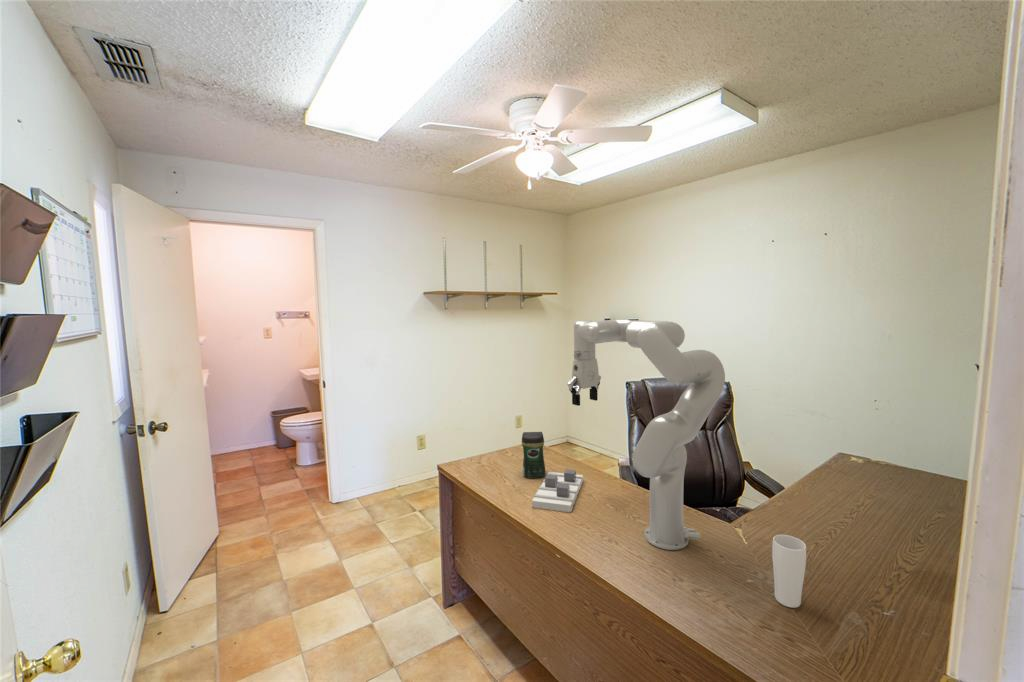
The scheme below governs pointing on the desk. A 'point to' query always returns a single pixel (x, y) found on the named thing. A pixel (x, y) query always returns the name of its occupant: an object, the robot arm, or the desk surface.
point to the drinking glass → (788, 569)
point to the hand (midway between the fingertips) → (585, 402)
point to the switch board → (549, 498)
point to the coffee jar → (533, 454)
